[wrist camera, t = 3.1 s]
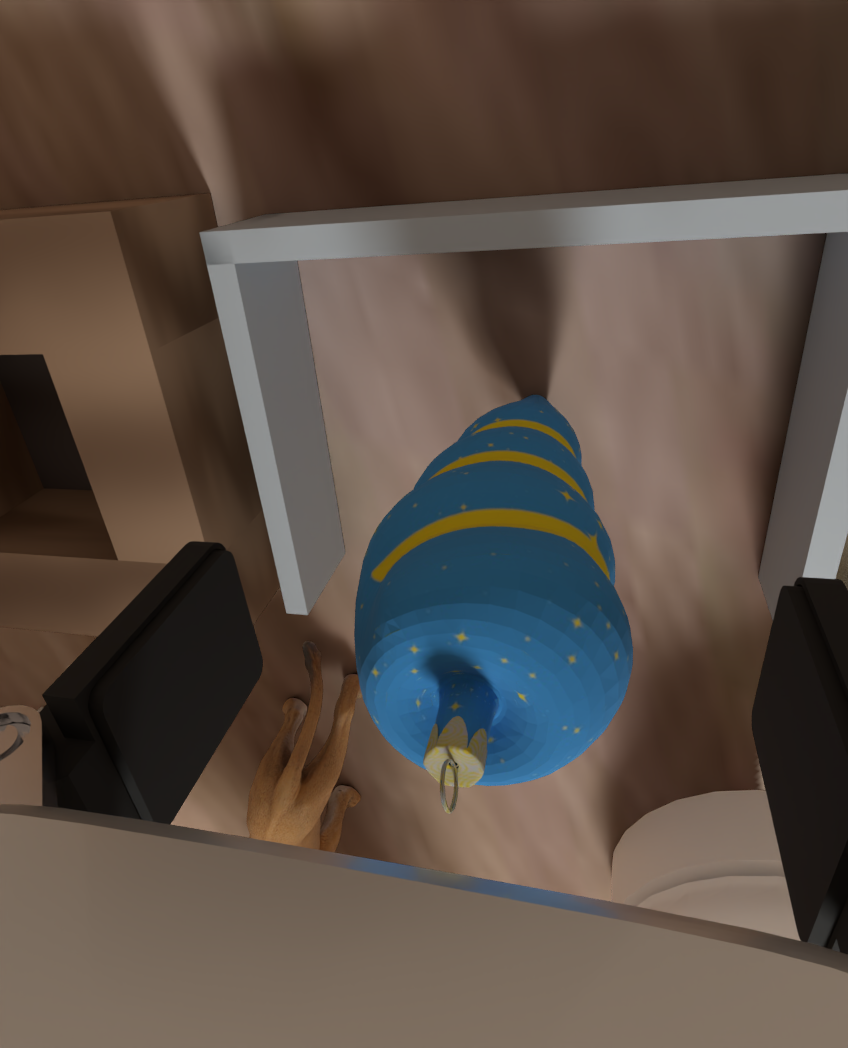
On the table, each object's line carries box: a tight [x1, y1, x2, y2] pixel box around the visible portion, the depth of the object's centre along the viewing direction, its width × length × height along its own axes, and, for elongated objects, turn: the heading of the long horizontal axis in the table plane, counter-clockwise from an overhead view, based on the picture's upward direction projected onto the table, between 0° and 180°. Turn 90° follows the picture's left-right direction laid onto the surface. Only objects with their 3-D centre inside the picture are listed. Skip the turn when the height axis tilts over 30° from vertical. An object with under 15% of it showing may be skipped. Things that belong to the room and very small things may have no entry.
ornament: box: [354, 395, 633, 813], centre depth 16 cm, size 5×5×15 cm
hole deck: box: [0, 193, 280, 636], centre depth 24 cm, size 14×14×5 cm
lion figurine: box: [247, 641, 362, 853], centre depth 29 cm, size 15×5×9 cm, turn 3°
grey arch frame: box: [199, 173, 848, 620], centre depth 20 cm, size 12×17×4 cm
